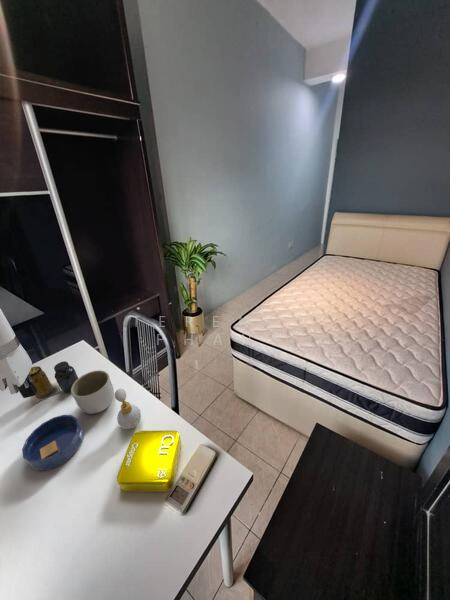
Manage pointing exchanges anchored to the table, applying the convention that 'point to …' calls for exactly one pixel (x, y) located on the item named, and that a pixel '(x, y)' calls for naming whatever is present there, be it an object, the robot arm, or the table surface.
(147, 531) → the table surface
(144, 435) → the element tile
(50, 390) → the condiment
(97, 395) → the planter
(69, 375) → the supplement bottle
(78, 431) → the bowl
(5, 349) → the robot arm
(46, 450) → the block
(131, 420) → the perfume bottle
